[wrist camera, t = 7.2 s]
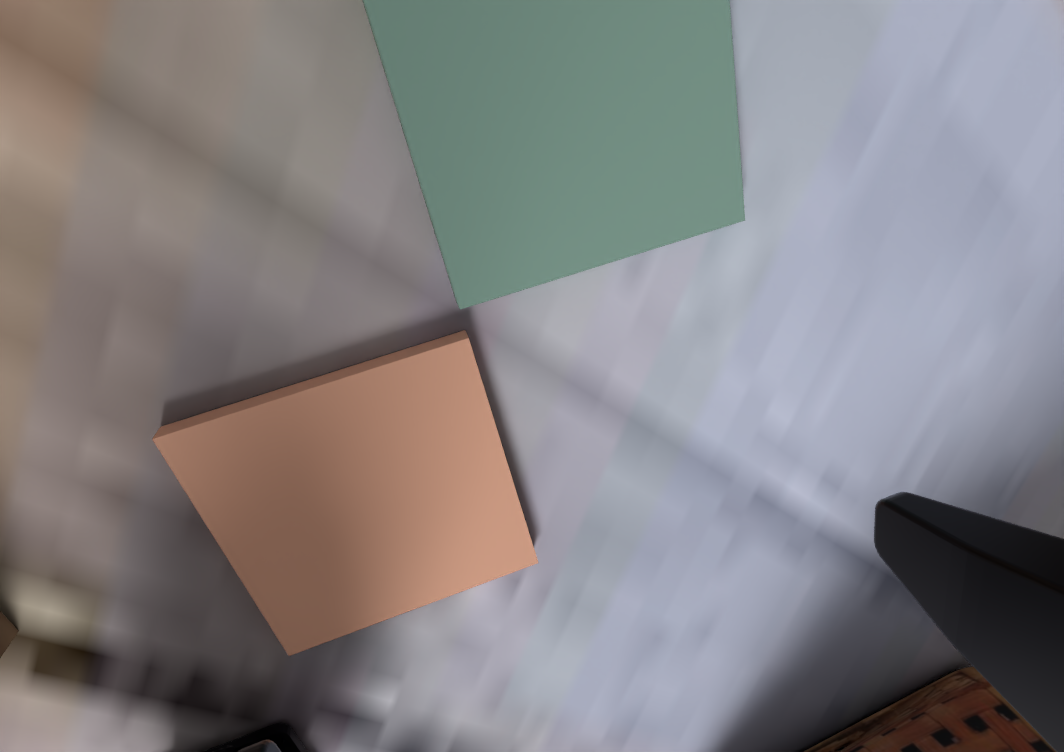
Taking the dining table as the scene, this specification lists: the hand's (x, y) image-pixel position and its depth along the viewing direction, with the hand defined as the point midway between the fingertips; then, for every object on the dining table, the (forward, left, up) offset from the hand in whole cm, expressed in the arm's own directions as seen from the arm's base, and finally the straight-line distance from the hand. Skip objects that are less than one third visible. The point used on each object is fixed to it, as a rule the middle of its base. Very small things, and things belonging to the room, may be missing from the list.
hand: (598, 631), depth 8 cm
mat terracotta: (-5, +5, -13) cm, 15 cm away
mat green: (+6, -5, -13) cm, 15 cm away
